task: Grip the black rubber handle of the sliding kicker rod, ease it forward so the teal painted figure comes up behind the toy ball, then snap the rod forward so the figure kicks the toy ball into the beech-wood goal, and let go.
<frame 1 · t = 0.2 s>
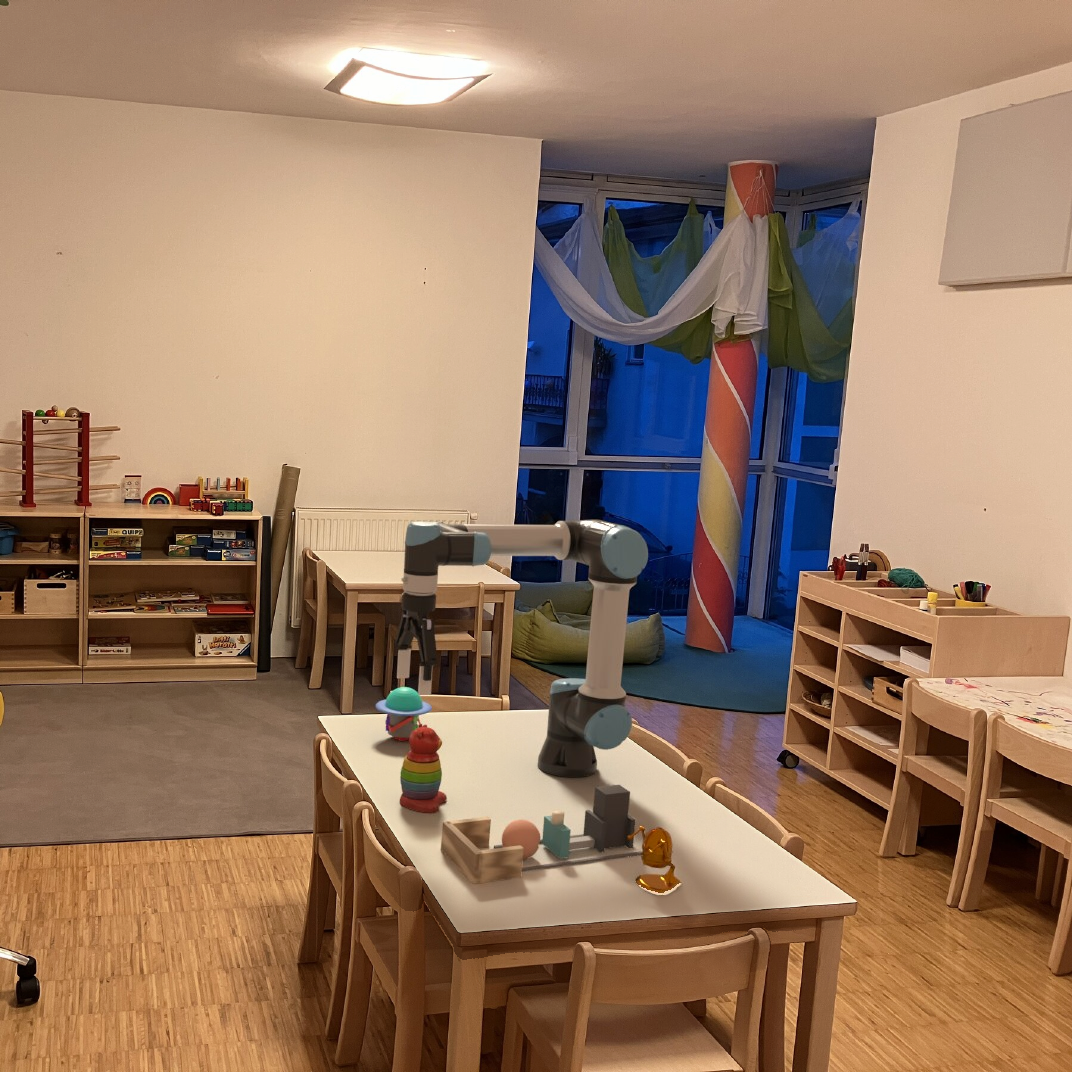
hand: (413, 686, 256), 28 cm above the table, fingers open, 13 cm apart
goal: (481, 862, 232), on the table
stacking bear: (420, 804, 262), on the table
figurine: (656, 886, 228), on the table
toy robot: (401, 739, 307), on the table
track: (568, 851, 242), on the table
toy ball: (519, 858, 236), on the table
kicker: (592, 818, 243), point 7 cm above the table, slide at 0.0 cm
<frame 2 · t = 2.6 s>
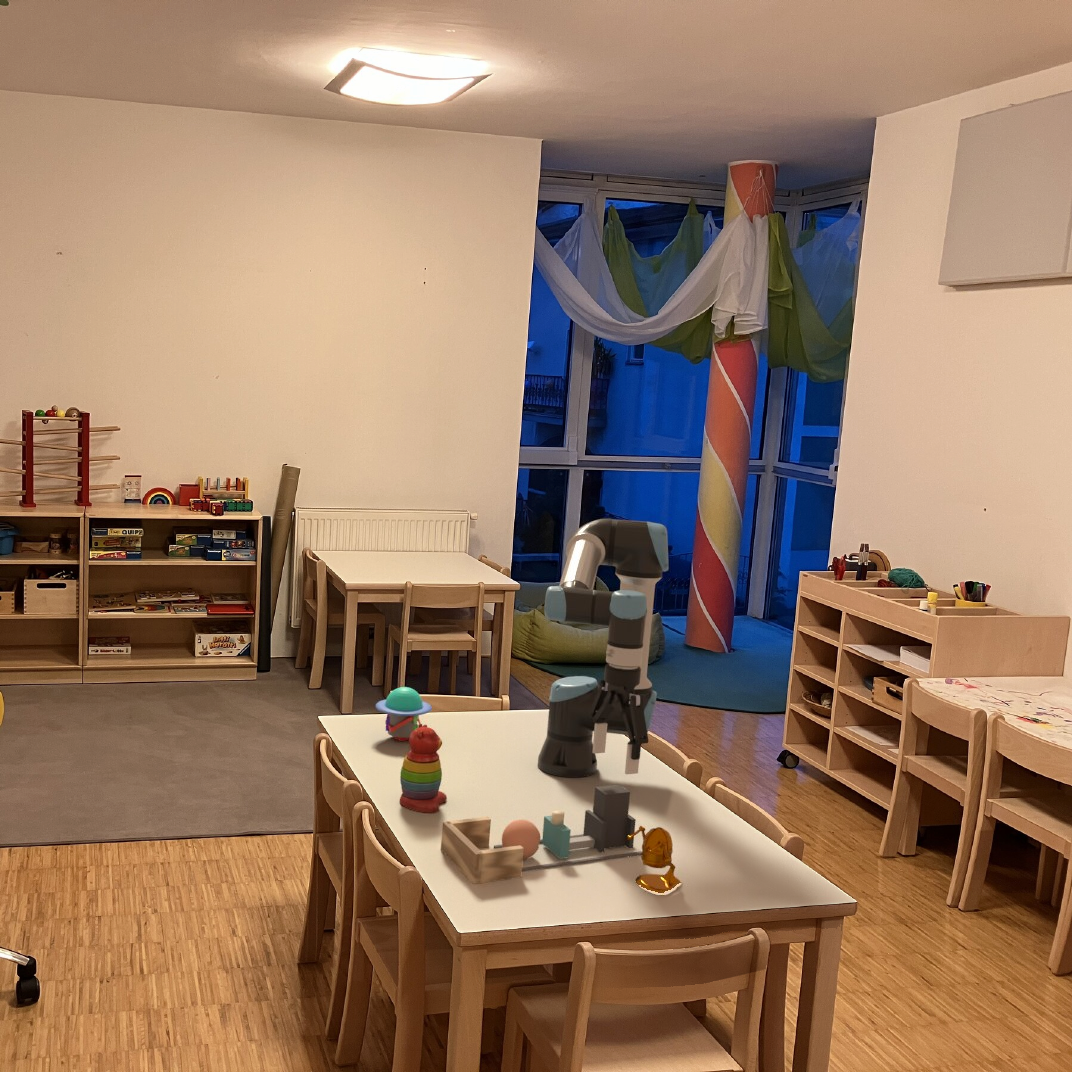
hand: (614, 762, 243), 18 cm above the table, fingers open, 13 cm apart
nothing on the table moved.
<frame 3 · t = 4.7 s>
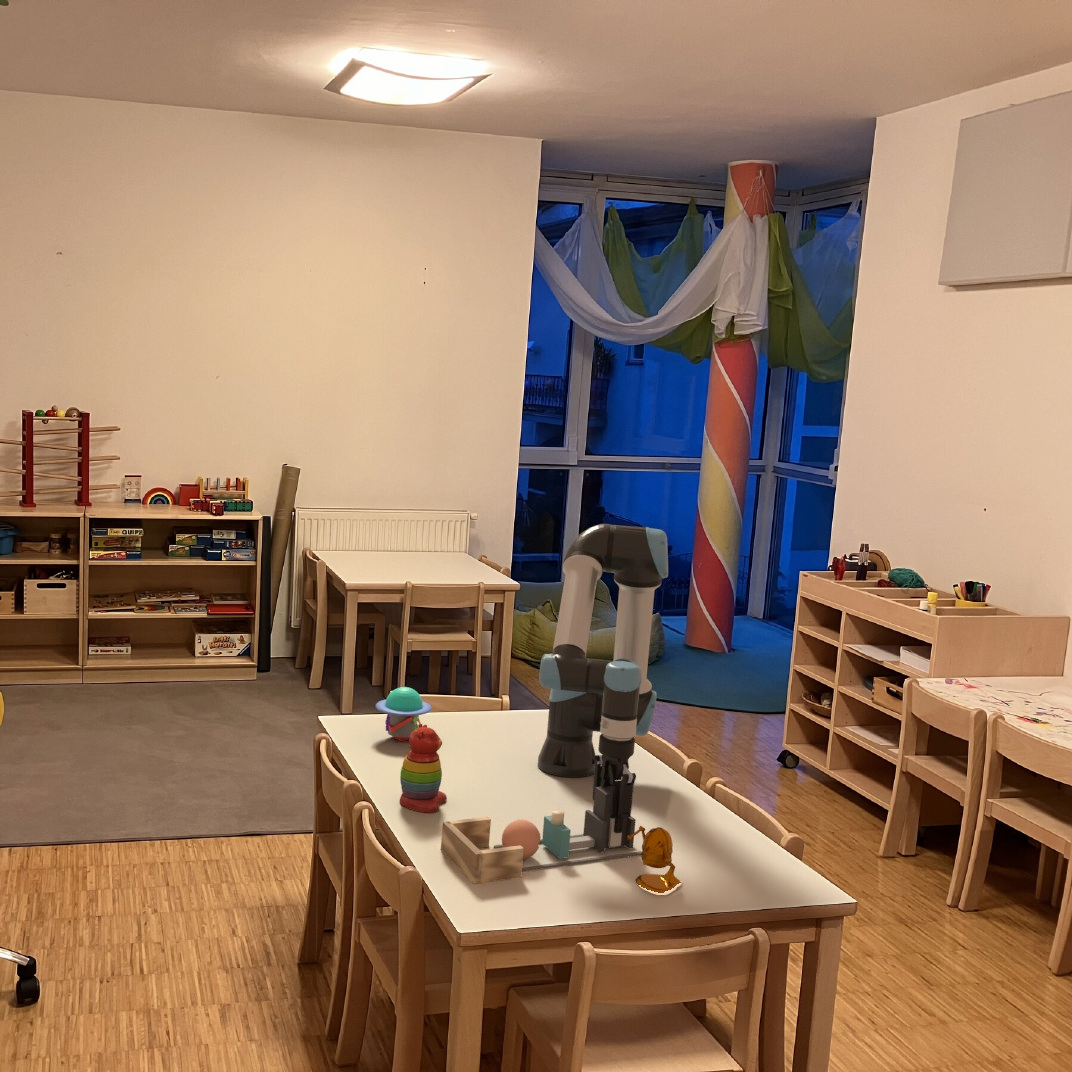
hand: (608, 840, 246), 1 cm above the table, fingers closed on kicker, 4 cm apart
kicker: (592, 818, 243), point 7 cm above the table, slide at 0.0 cm, touching gripper
everything else where it was.
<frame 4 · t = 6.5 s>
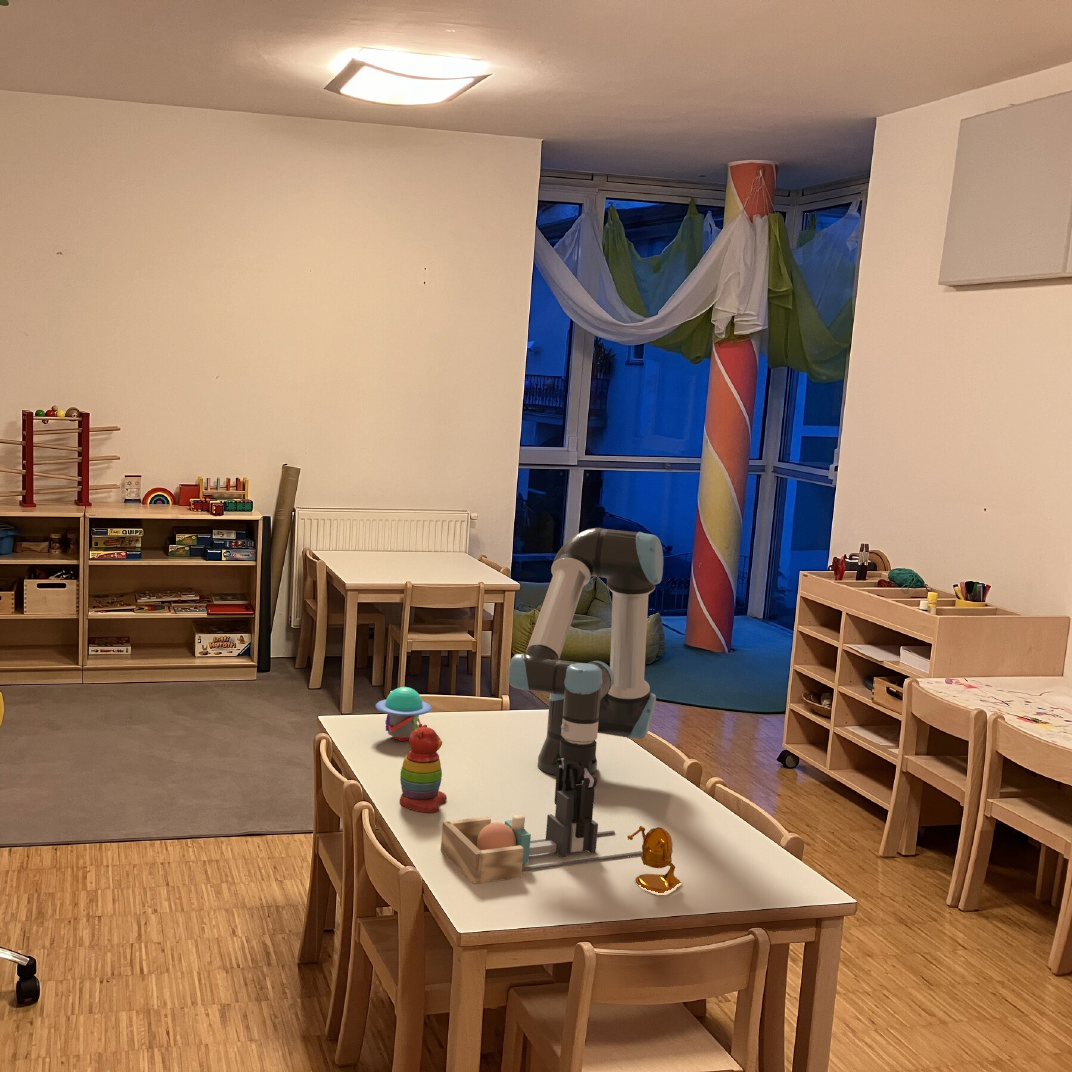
hand: (570, 845, 242), 1 cm above the table, fingers closed on kicker, 5 cm apart
toy ball: (495, 862, 234), resting in goal, touching kicker
kicker: (554, 823, 239), point 7 cm above the table, slide at 9.2 cm, touching gripper, toy ball
everything else where it was.
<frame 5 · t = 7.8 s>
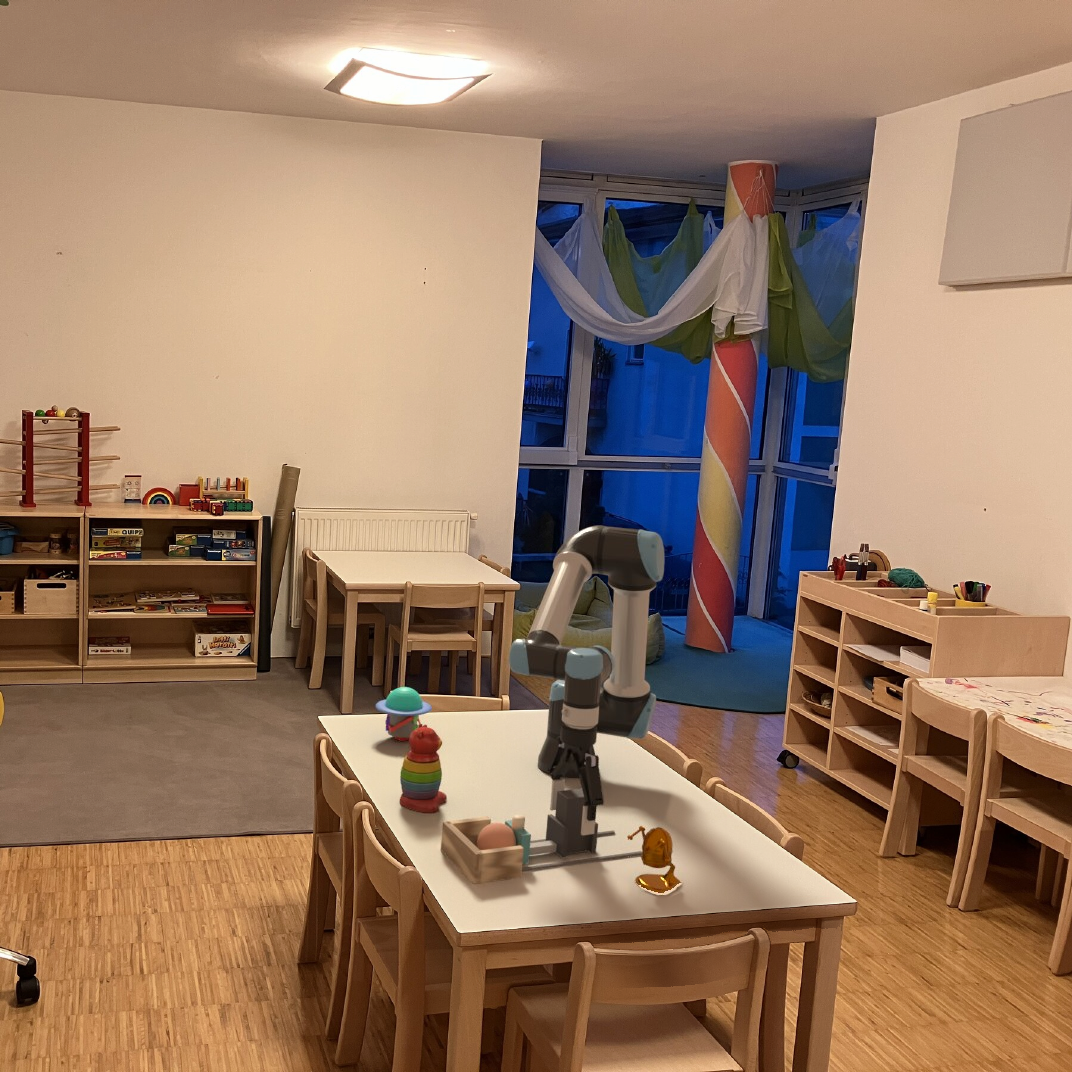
hand: (571, 821, 241), 6 cm above the table, fingers open, 13 cm apart
toy ball: (495, 862, 234), resting in goal
kicker: (554, 823, 239), point 7 cm above the table, slide at 9.1 cm
everything else where it was.
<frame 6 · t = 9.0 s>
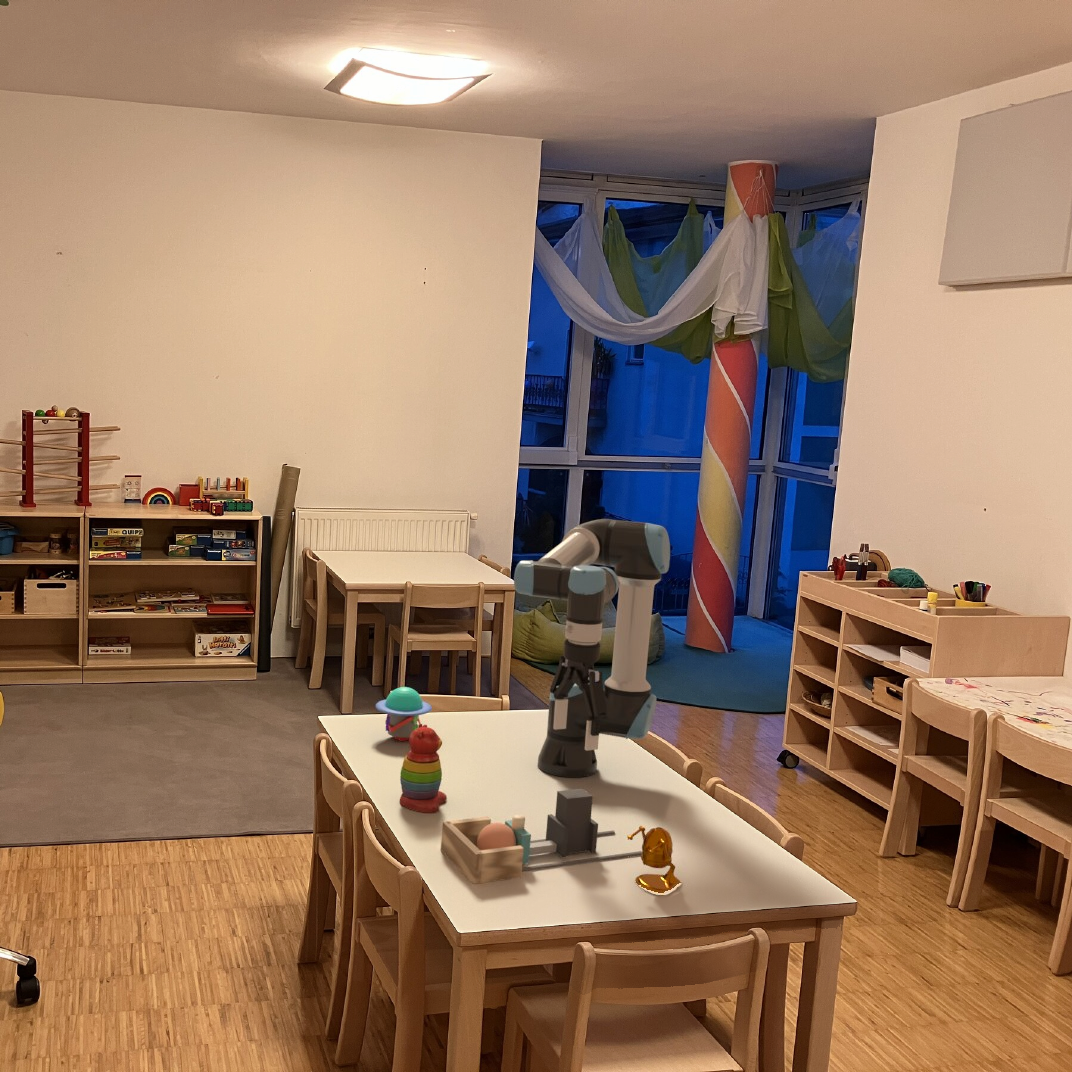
hand: (574, 738, 242), 23 cm above the table, fingers open, 13 cm apart
nothing on the table moved.
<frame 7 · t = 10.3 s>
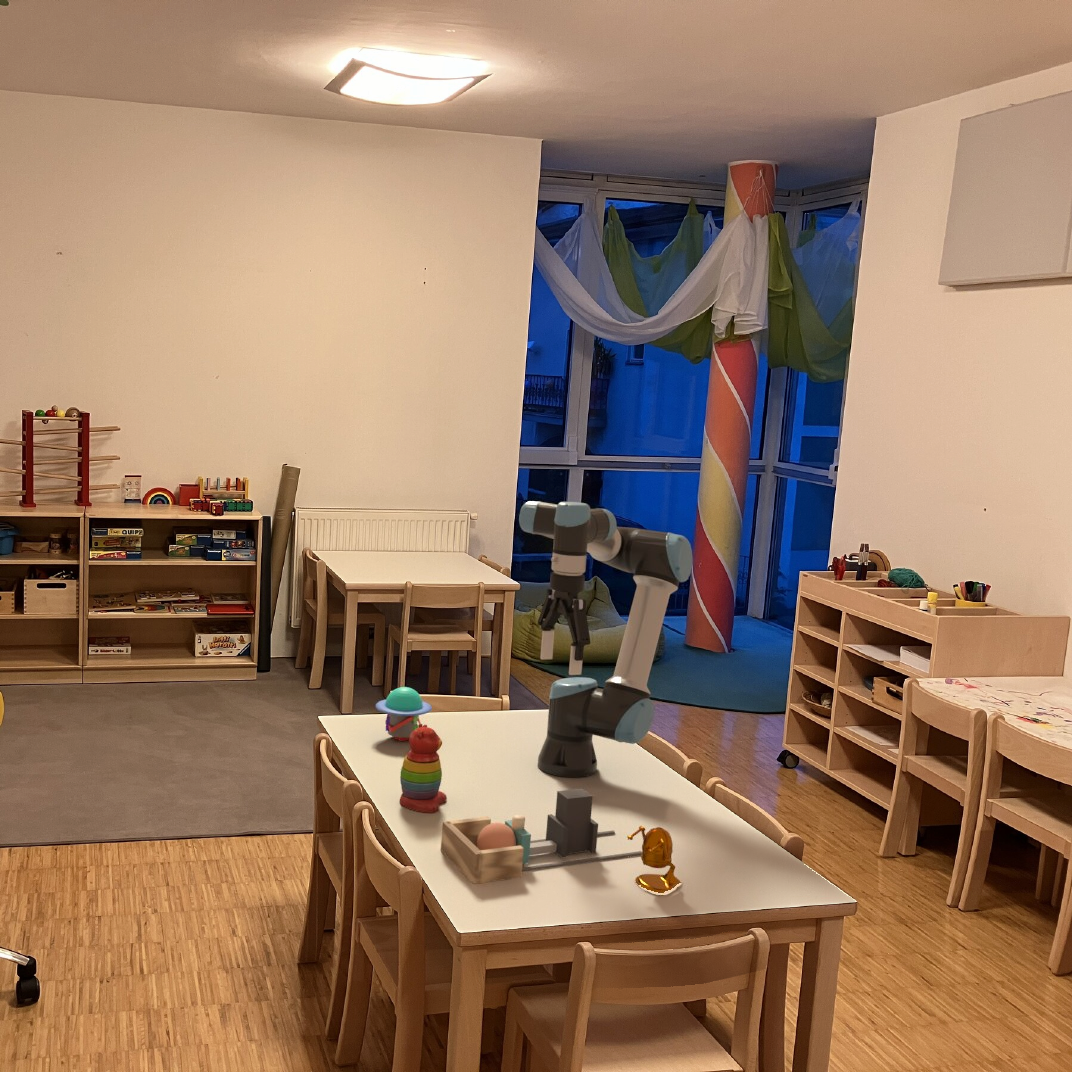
hand: (560, 666, 256), 35 cm above the table, fingers open, 13 cm apart
nothing on the table moved.
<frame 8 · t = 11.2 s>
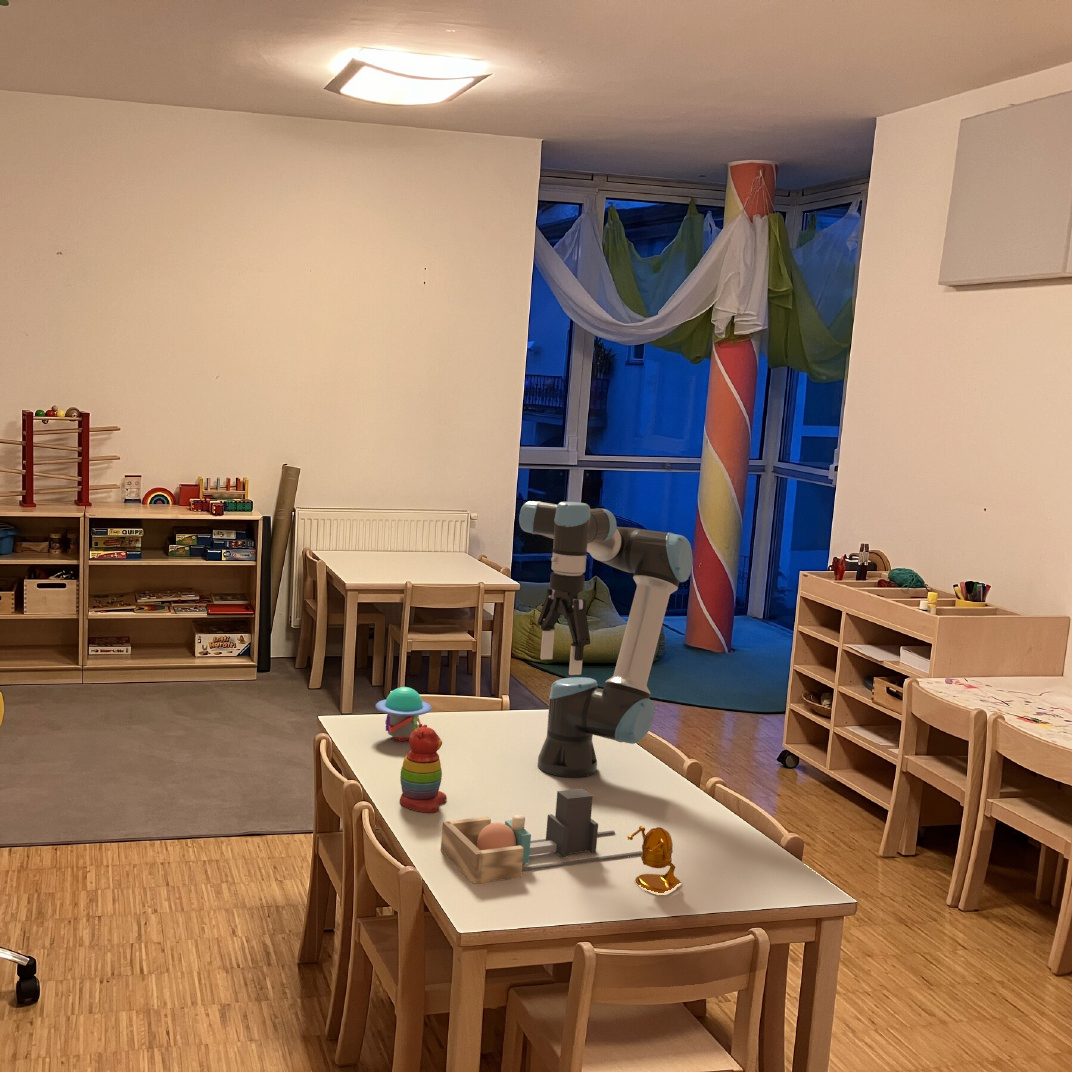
hand: (560, 666, 256), 35 cm above the table, fingers open, 13 cm apart
nothing on the table moved.
at the end: toy ball inside the target area on the goal (3.7 cm from its centre), point 0.0 cm above the goal's base; kicker slide at 9.1 cm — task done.
